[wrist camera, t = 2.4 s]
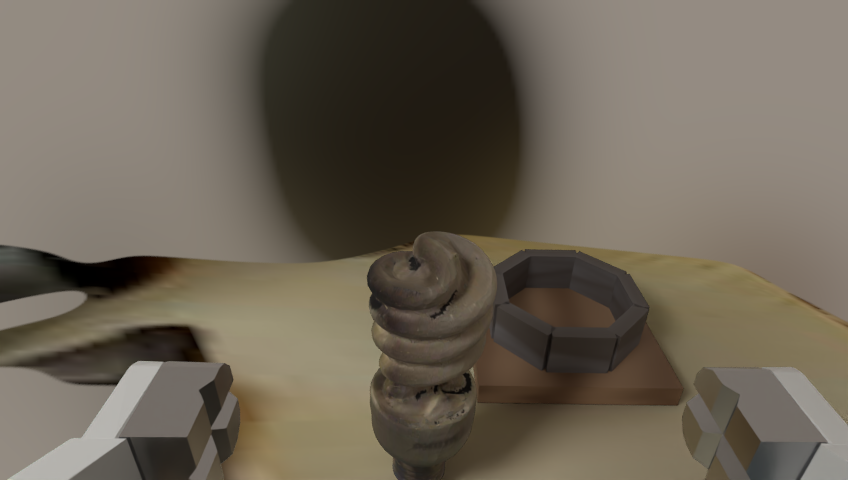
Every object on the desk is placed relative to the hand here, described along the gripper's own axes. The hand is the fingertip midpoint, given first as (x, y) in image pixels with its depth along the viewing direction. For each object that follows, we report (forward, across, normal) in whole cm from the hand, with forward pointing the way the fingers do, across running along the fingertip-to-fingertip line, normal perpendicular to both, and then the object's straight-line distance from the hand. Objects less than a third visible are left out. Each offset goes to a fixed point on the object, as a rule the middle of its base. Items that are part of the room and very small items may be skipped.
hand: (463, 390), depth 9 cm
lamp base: (+24, -10, +19) cm, 32 cm away
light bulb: (+12, 0, +20) cm, 23 cm away
